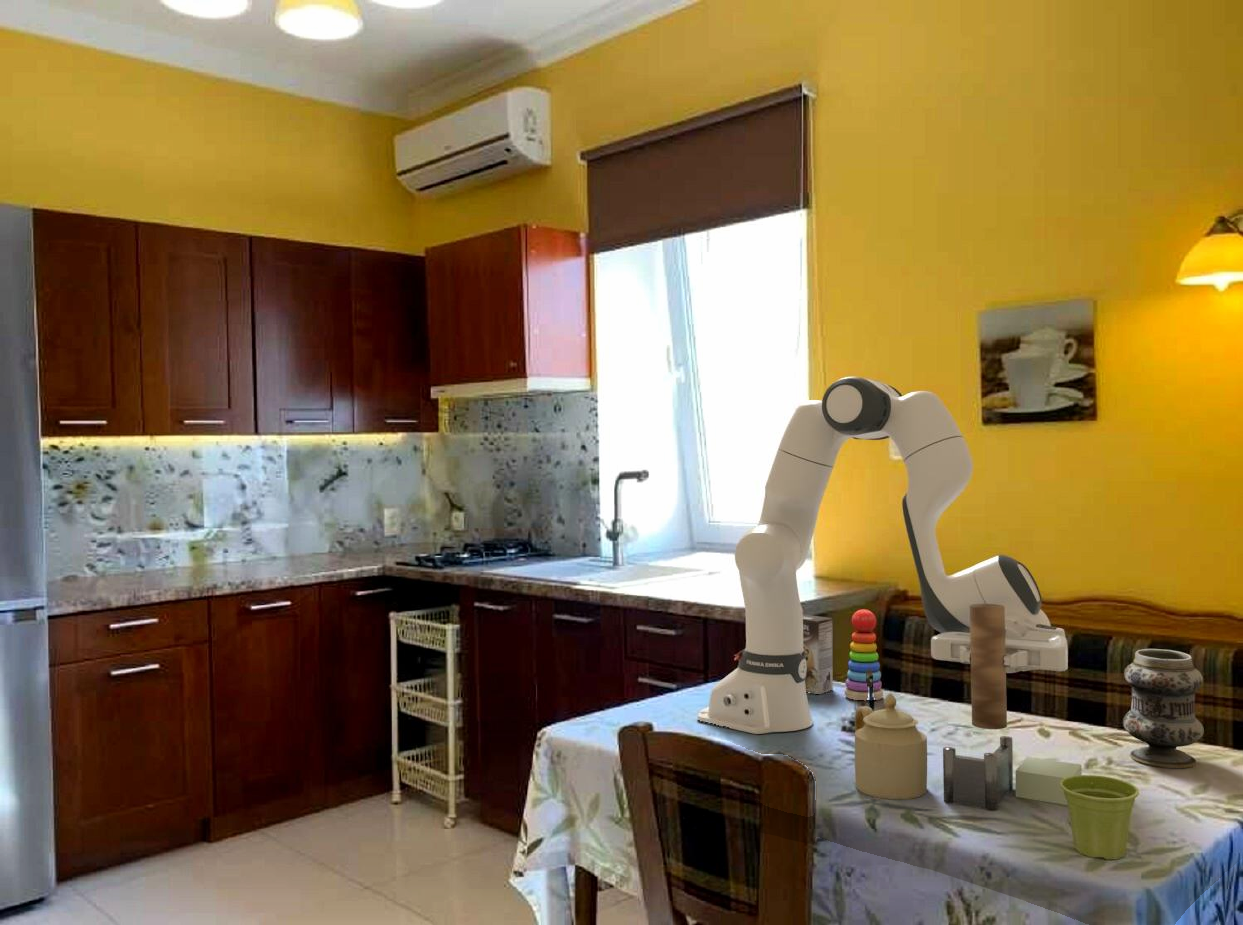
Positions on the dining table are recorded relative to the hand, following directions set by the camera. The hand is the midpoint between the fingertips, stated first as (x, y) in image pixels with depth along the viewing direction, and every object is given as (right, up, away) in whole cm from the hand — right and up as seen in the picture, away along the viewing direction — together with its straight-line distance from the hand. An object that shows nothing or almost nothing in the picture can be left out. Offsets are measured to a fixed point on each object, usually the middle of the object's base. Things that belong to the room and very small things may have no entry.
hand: (986, 660), depth 155 cm
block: (+11, -21, +3) cm, 24 cm away
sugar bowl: (-14, -22, +8) cm, 27 cm away
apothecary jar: (+36, -21, +18) cm, 46 cm away
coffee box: (-14, -20, +71) cm, 76 cm away
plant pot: (+8, -22, -19) cm, 30 cm away
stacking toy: (-4, -20, +64) cm, 67 cm away
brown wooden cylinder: (+1, -10, +1) cm, 10 cm away
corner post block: (0, -21, +3) cm, 21 cm away
